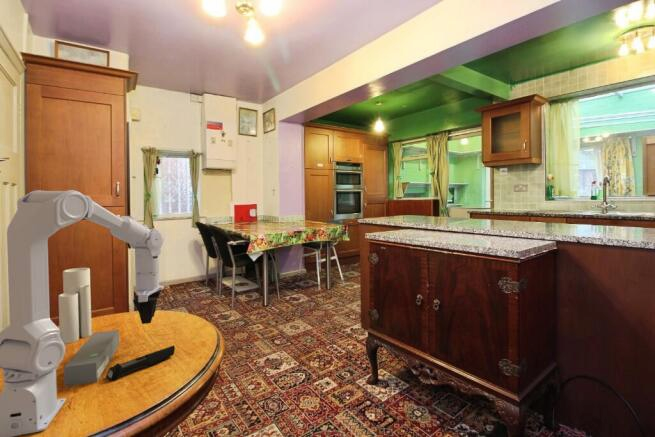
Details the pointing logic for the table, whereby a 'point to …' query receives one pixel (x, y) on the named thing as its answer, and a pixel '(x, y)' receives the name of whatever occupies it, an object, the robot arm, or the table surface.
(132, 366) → the electric trimmer
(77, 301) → the vase
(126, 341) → the table surface
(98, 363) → the charging dock
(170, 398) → the table surface
